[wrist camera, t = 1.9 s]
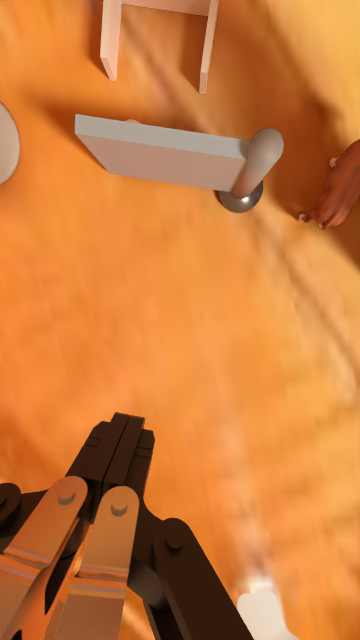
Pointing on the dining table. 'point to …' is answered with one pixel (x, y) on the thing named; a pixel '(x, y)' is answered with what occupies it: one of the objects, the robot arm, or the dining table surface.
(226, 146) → the paddle
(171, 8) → the pocket
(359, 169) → the bull figurine
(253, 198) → the lever base
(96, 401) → the dining table surface
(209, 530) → the dining table surface
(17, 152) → the chalice
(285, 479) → the dining table surface
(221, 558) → the dining table surface
